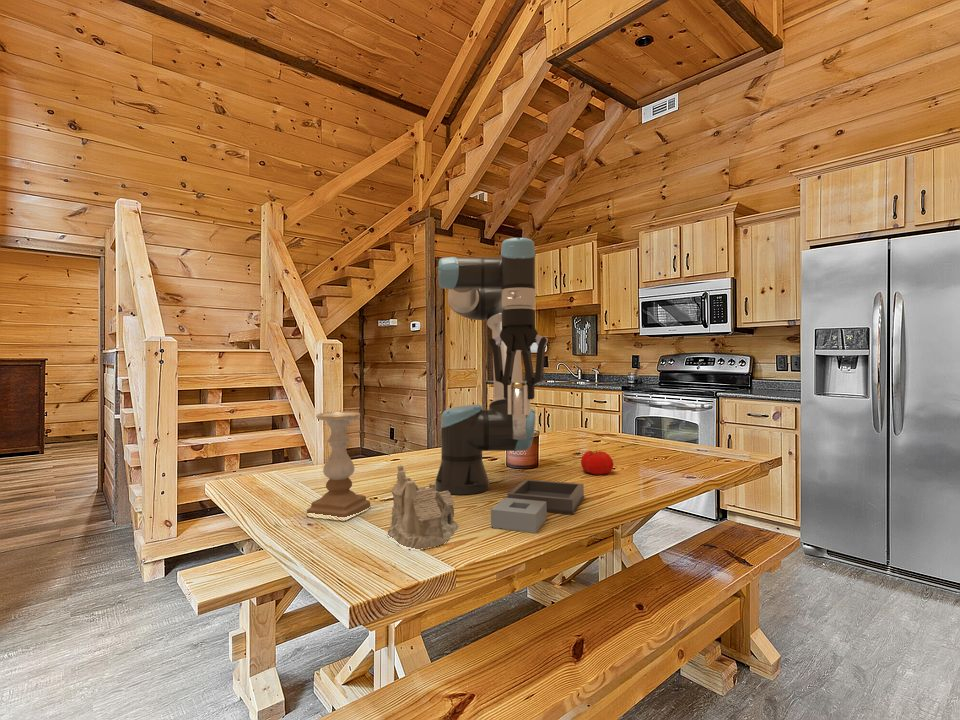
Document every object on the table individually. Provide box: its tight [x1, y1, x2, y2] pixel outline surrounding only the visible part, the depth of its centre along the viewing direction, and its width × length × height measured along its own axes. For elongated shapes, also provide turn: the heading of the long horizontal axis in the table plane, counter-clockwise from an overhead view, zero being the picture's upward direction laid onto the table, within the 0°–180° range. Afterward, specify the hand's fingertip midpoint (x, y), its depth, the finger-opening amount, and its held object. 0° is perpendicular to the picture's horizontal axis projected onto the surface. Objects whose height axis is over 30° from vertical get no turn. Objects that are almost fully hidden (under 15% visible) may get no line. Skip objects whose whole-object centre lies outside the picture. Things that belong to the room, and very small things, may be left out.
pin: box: [512, 381, 527, 440], centre depth 113 cm, size 3×3×12 cm
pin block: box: [490, 497, 548, 534], centre depth 113 cm, size 10×10×4 cm
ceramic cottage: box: [387, 464, 459, 549], centre depth 107 cm, size 16×16×15 cm
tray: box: [506, 478, 585, 516], centre depth 129 cm, size 16×16×4 cm
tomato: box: [580, 450, 615, 476], centre depth 163 cm, size 10×11×6 cm
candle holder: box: [306, 411, 371, 517], centre depth 122 cm, size 11×11×24 cm
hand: (519, 413), depth 113 cm, fingers closed on pin, 3 cm apart
